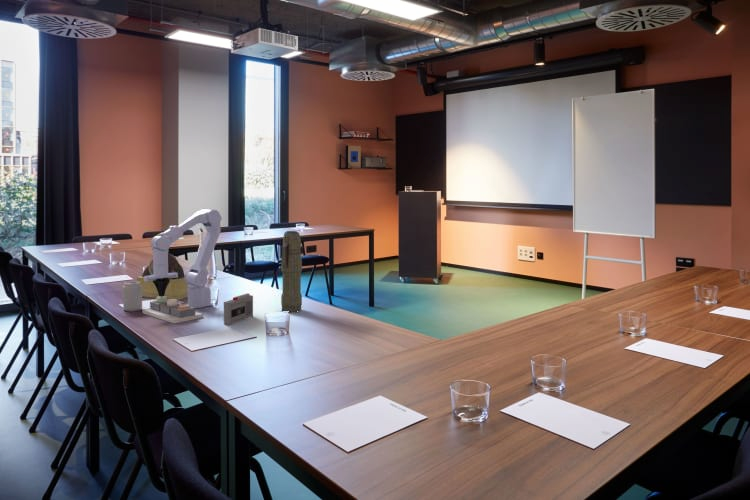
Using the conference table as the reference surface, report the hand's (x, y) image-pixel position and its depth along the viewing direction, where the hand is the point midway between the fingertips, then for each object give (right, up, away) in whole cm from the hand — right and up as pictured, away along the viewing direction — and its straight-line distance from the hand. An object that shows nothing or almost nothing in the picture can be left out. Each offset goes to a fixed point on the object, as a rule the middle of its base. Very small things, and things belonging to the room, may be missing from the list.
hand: (161, 296), depth 230 cm
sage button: (0, -4, 0) cm, 4 cm away
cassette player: (+35, -9, -9) cm, 38 cm away
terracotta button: (+12, -7, -9) cm, 17 cm away
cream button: (+6, -4, -4) cm, 9 cm away
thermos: (+54, -7, +9) cm, 55 cm away
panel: (+6, -8, -4) cm, 11 cm away
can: (-14, -6, +4) cm, 16 cm away
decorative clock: (-13, -3, +34) cm, 37 cm away
